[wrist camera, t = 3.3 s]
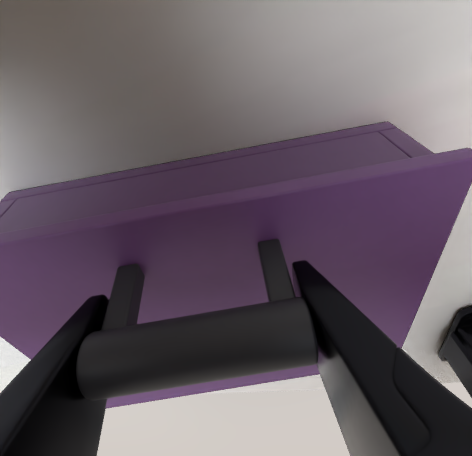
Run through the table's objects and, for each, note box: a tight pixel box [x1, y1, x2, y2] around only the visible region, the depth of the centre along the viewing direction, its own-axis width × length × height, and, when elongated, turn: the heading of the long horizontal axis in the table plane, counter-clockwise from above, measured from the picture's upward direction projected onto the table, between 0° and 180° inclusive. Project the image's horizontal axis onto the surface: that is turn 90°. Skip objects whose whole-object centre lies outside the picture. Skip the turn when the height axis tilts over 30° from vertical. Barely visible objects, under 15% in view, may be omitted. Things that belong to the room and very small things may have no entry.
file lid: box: [0, 148, 472, 409], centre depth 11 cm, size 12×17×4 cm
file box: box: [0, 122, 434, 233], centre depth 15 cm, size 12×17×4 cm
